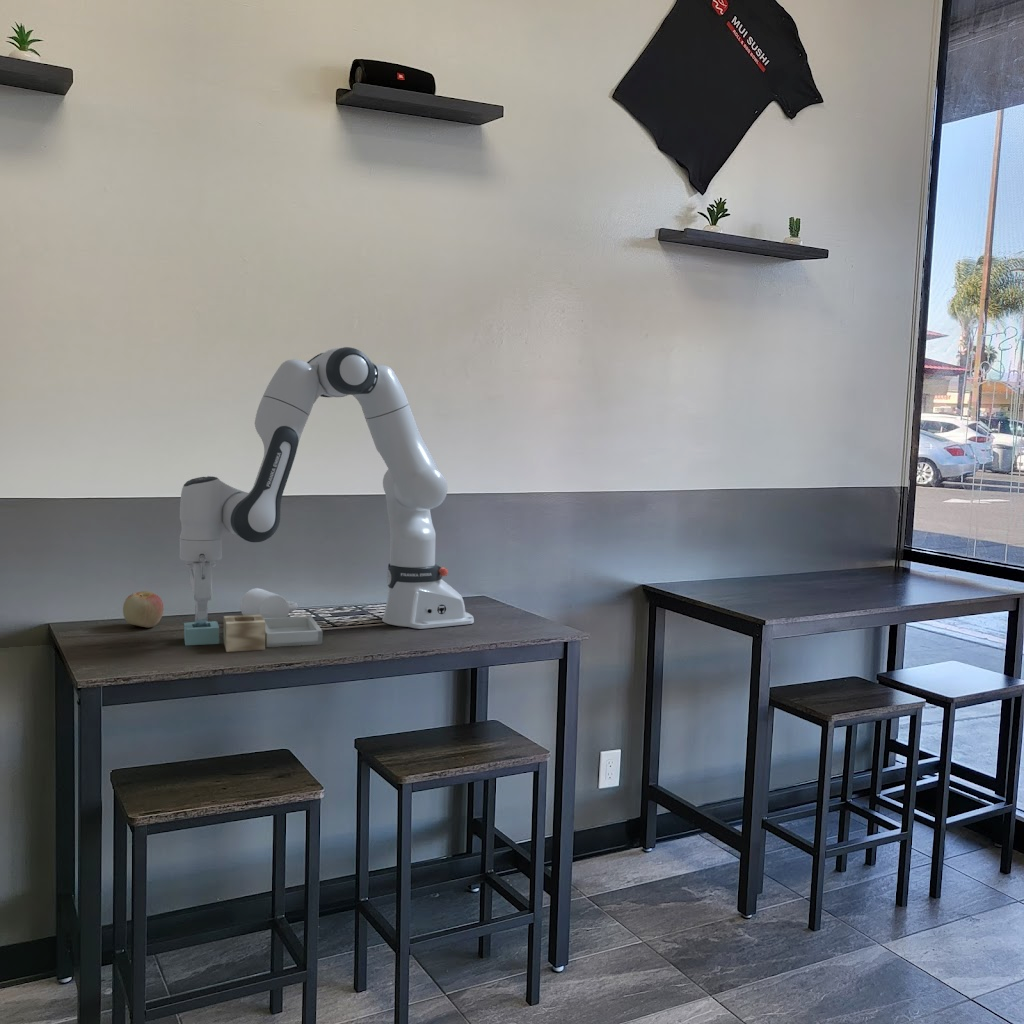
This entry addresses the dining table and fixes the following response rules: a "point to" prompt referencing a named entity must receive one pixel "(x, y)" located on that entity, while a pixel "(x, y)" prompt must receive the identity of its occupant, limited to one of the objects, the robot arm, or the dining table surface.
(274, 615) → the mug
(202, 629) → the stand
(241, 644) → the beech block
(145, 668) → the dining table surface
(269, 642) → the tray
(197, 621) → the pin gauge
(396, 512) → the robot arm
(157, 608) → the apple
